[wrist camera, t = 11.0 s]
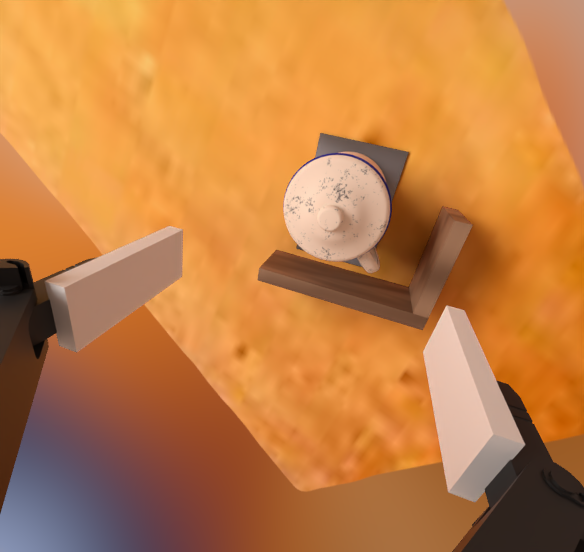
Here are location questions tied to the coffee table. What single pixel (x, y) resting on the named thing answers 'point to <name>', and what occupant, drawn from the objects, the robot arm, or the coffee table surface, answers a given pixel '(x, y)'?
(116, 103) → the coffee table surface
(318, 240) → the teacup with lid
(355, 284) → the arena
